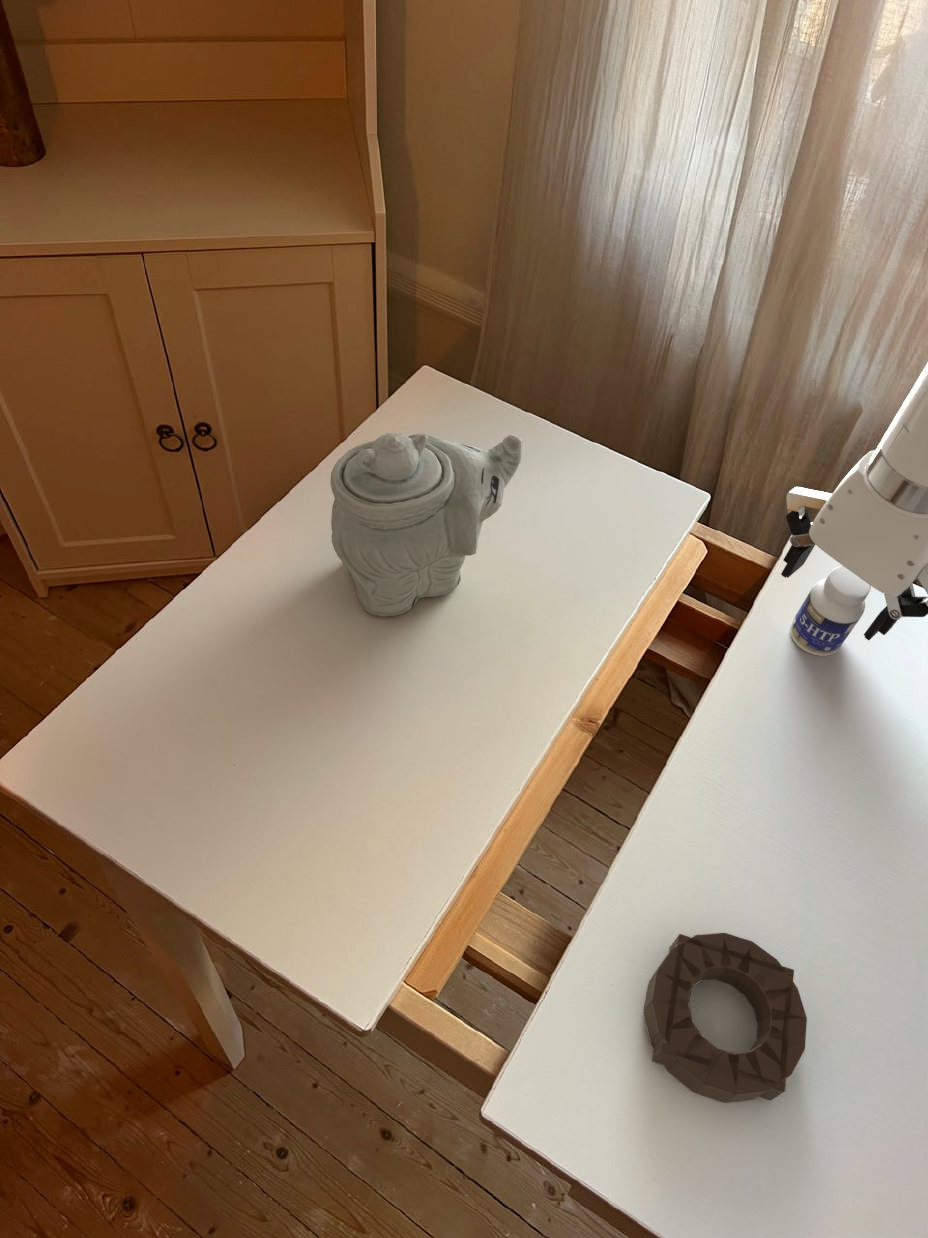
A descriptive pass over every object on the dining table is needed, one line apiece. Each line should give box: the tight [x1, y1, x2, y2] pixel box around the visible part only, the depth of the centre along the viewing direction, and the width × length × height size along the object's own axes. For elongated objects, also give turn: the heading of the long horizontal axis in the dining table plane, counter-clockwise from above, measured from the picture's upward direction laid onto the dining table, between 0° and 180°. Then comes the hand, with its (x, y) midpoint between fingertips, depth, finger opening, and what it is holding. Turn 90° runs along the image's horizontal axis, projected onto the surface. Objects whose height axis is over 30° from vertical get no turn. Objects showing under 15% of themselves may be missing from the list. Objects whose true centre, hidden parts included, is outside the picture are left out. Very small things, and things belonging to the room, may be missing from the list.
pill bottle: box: [789, 565, 872, 657], centre depth 94 cm, size 5×5×9 cm
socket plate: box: [643, 932, 808, 1104], centre depth 72 cm, size 11×11×3 cm
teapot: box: [329, 432, 523, 617], centre depth 91 cm, size 16×15×19 cm
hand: (831, 600), depth 93 cm, fingers open, 9 cm apart
